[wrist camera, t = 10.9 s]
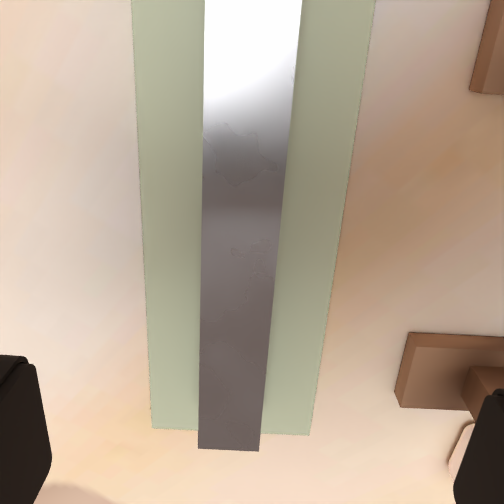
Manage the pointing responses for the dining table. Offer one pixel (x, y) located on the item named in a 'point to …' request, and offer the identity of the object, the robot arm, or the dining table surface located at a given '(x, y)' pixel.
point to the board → (293, 207)
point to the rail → (241, 207)
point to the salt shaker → (459, 451)
